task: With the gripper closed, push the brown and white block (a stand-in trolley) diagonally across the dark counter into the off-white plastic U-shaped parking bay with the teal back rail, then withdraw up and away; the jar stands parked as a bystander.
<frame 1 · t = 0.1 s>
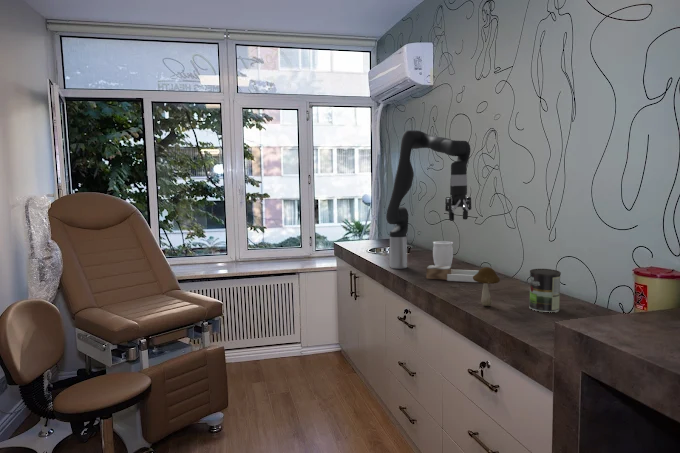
hand: (458, 220, 210), 29 cm above the counter, fingers open, 8 cm apart
jar: (442, 270, 241), on the counter
brown and white block: (438, 277, 224), on the counter
mushroom: (485, 306, 173), on the counter
bay: (462, 278, 220), on the counter
coffee can: (544, 309, 168), on the counter
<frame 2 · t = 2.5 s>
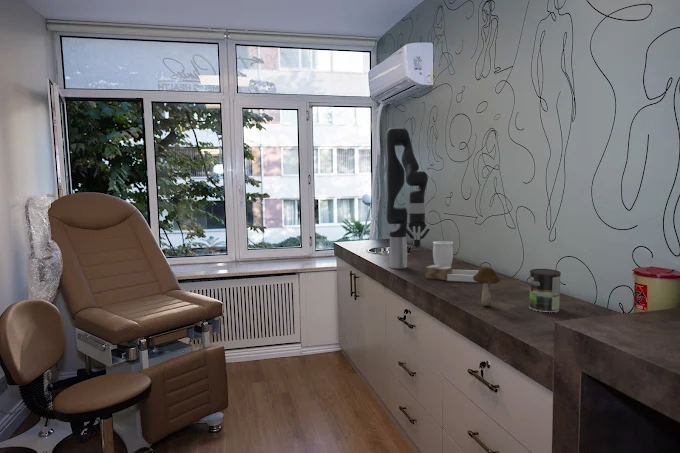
hand: (417, 247, 225), 15 cm above the counter, fingers closed
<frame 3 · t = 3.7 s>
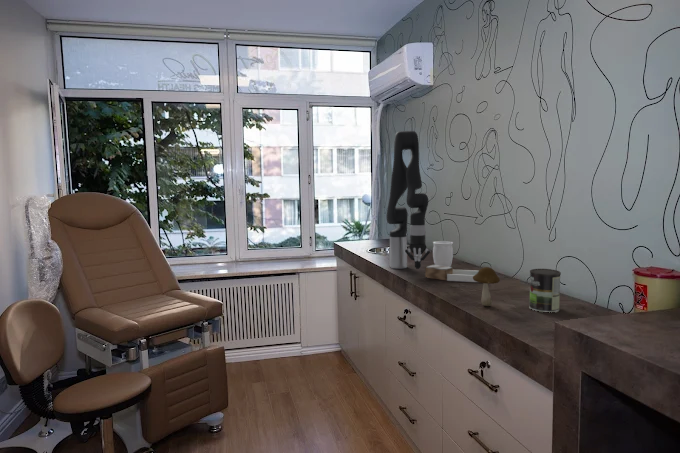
hand: (417, 268, 227), 4 cm above the counter, fingers closed
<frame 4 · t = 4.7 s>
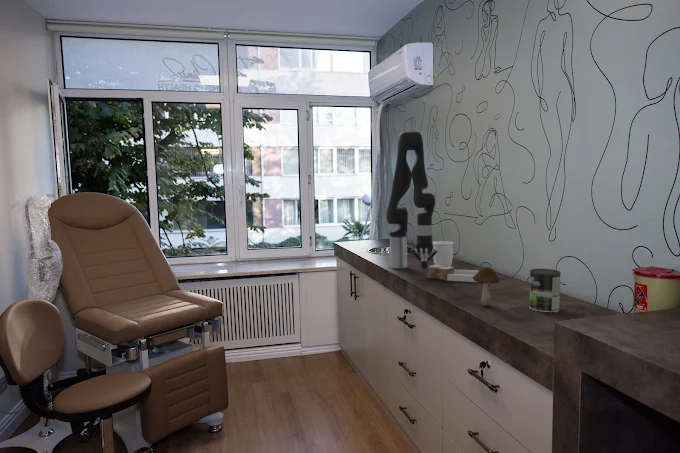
hand: (424, 268, 225), 4 cm above the counter, fingers closed
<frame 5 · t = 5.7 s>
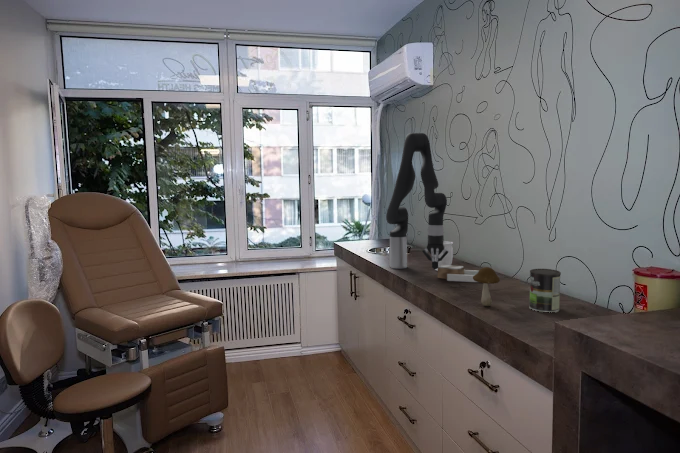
hand: (435, 269, 223), 4 cm above the counter, fingers closed
brown and white block: (450, 277, 223), on the counter, touching gripper
everything else where it was.
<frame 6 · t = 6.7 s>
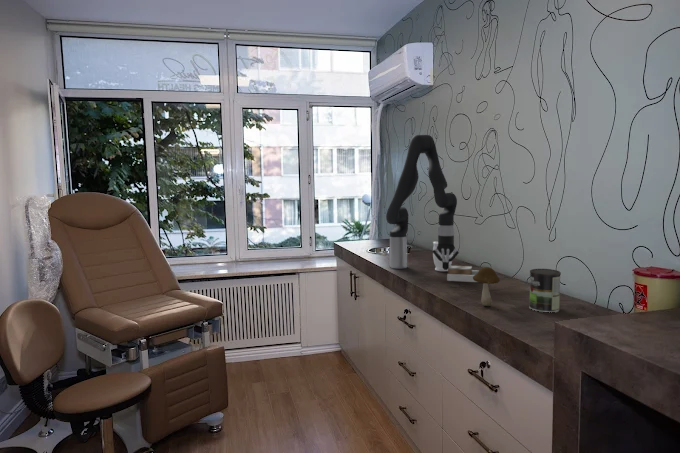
hand: (445, 269, 222), 4 cm above the counter, fingers closed
brown and white block: (460, 278, 222), on the counter, touching gripper
everything else where it was.
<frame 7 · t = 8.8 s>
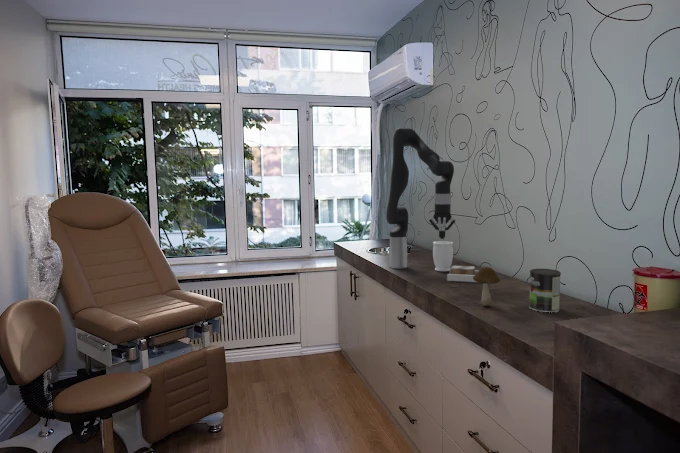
hand: (442, 238, 221), 19 cm above the counter, fingers closed
brown and white block: (462, 278, 221), on the counter
everything else where it was.
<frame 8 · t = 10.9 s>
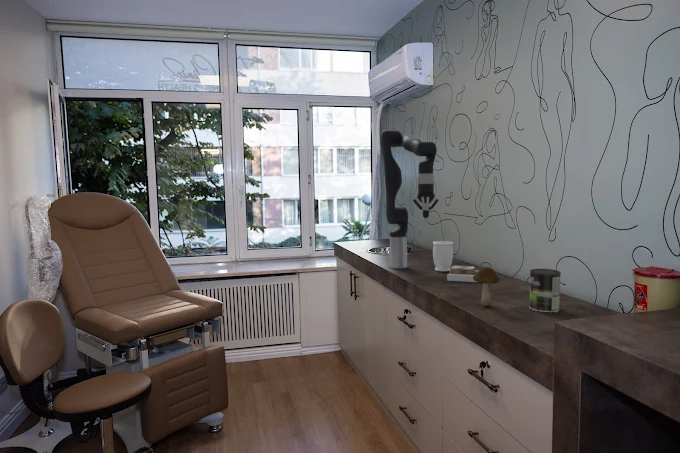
hand: (426, 218, 226), 29 cm above the counter, fingers closed
nothing on the counter moved.
at the end: brown and white block 1.4 cm from the bay (horizontally); brown and white block tilted 0° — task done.
